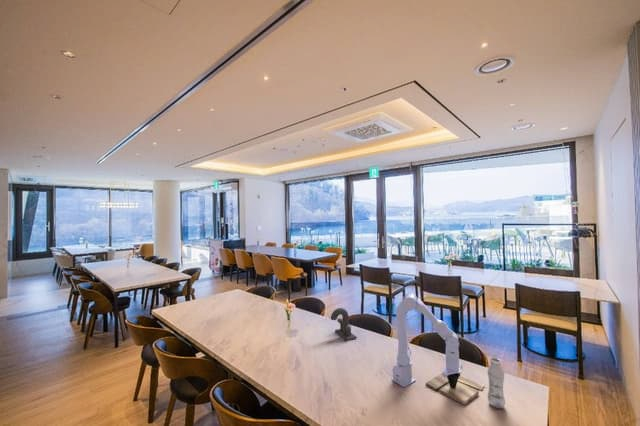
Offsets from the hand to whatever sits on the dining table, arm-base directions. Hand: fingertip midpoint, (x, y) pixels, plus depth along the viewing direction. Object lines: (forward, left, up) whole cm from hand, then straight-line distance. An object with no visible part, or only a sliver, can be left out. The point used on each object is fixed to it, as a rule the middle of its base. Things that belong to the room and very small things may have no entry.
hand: (452, 387), depth 131 cm
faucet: (-5, +79, -2) cm, 79 cm away
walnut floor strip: (0, +7, -1) cm, 7 cm away
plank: (+12, -2, -2) cm, 12 cm away
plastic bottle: (+5, -17, -2) cm, 18 cm away
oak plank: (0, -3, -1) cm, 3 cm away
